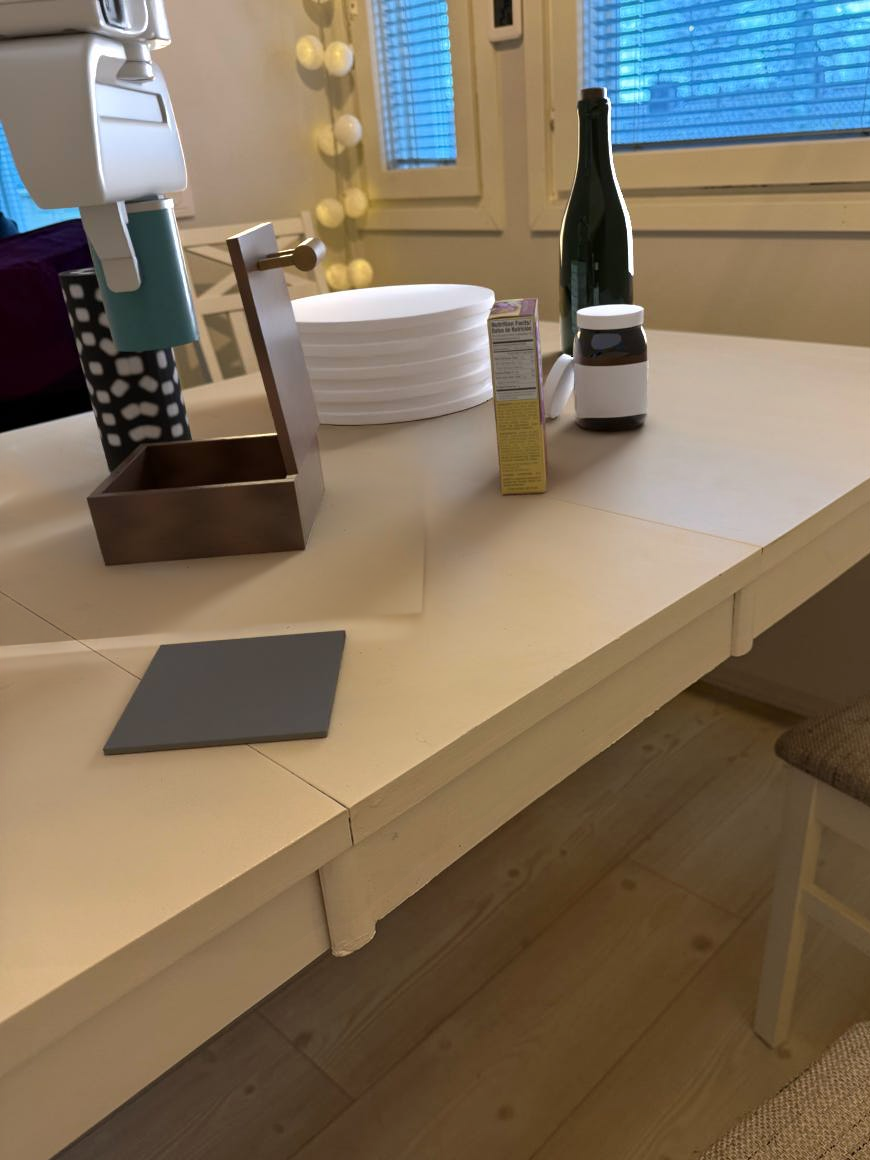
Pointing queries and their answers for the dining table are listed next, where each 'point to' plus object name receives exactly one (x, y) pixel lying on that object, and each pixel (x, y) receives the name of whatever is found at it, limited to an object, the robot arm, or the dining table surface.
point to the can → (151, 284)
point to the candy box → (518, 395)
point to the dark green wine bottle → (593, 224)
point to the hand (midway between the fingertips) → (143, 283)
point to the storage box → (206, 501)
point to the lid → (278, 333)
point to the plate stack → (396, 351)
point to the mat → (232, 693)
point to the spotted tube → (122, 377)
